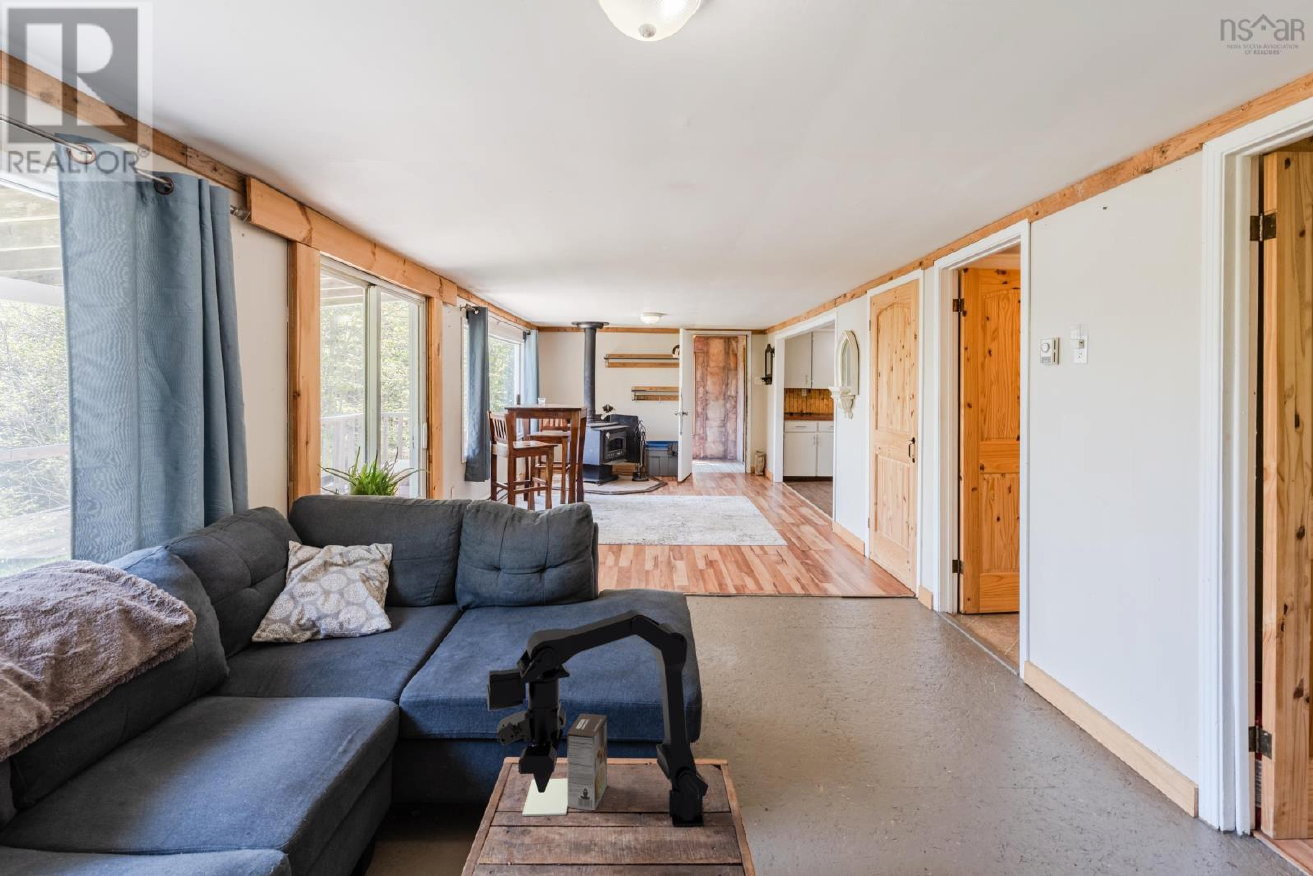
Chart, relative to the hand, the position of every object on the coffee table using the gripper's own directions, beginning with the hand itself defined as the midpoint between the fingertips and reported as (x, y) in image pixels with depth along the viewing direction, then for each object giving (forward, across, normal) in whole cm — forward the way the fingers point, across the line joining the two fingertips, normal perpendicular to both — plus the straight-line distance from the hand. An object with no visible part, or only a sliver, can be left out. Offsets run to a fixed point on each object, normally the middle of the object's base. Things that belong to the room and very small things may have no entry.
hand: (544, 782), depth 111 cm
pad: (+13, -16, -2) cm, 21 cm away
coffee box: (+13, -16, +7) cm, 22 cm away
